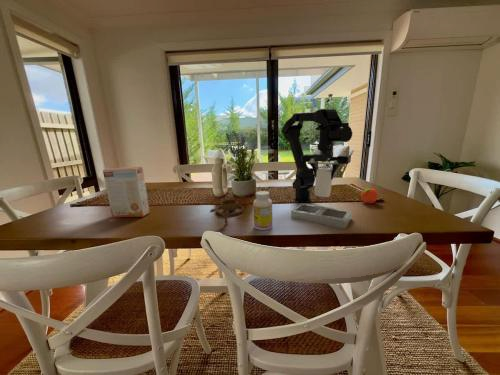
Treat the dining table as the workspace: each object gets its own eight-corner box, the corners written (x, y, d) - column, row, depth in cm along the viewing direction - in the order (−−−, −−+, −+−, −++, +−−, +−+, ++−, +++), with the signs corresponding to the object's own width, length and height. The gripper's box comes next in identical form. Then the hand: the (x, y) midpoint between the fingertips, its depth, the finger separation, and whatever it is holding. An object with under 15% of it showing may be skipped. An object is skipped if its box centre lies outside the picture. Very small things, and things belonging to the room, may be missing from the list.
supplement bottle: (253, 223, 81) (252, 190, 78) (270, 222, 82) (270, 189, 79) (255, 231, 75) (254, 195, 72) (274, 230, 76) (273, 194, 72)
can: (330, 198, 90) (333, 170, 87) (314, 197, 92) (317, 169, 88) (329, 193, 96) (332, 166, 93) (314, 192, 98) (316, 166, 94)
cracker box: (150, 212, 98) (143, 166, 92) (143, 217, 92) (135, 168, 87) (120, 212, 99) (111, 167, 93) (111, 217, 93) (101, 169, 88)
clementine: (369, 207, 94) (370, 191, 92) (355, 202, 100) (356, 188, 98) (380, 203, 98) (382, 188, 96) (366, 199, 104) (367, 185, 102)
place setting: (254, 210, 96) (253, 198, 95) (228, 228, 80) (227, 213, 78) (222, 205, 105) (221, 193, 103) (193, 220, 88) (191, 206, 87)
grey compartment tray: (291, 217, 86) (291, 210, 85) (301, 209, 94) (301, 203, 93) (344, 229, 74) (345, 220, 74) (351, 218, 83) (351, 211, 82)
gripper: (296, 142, 87) (295, 180, 91) (346, 142, 76) (343, 185, 80) (306, 141, 96) (305, 175, 100) (352, 140, 85) (349, 179, 89)
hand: (324, 179), depth 92 cm, fingers closed on can, 6 cm apart
